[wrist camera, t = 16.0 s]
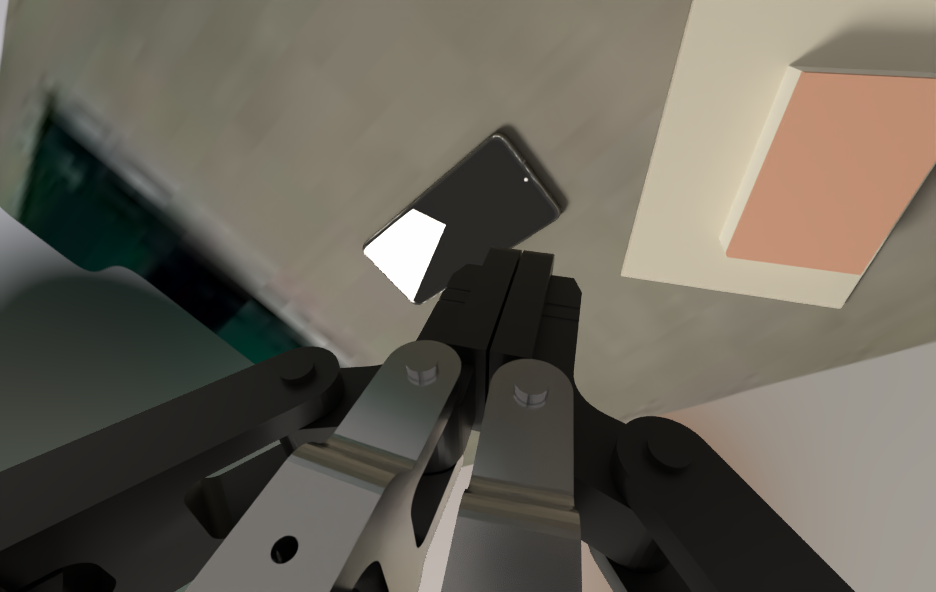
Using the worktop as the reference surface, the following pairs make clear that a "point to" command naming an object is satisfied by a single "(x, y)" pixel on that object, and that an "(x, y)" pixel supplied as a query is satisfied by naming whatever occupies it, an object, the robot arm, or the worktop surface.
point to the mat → (753, 129)
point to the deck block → (833, 167)
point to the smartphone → (463, 220)
